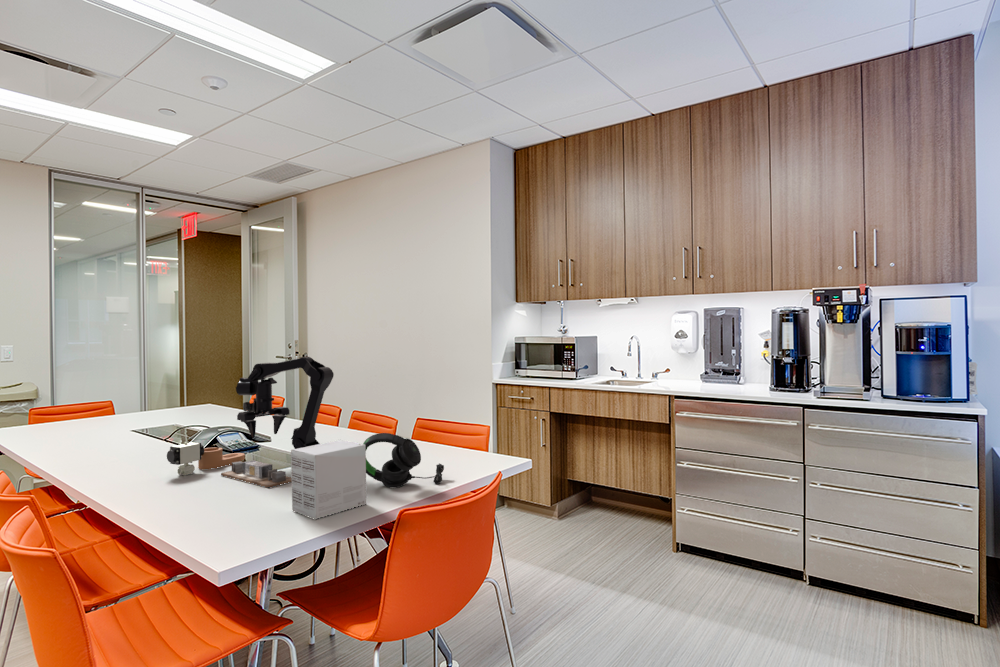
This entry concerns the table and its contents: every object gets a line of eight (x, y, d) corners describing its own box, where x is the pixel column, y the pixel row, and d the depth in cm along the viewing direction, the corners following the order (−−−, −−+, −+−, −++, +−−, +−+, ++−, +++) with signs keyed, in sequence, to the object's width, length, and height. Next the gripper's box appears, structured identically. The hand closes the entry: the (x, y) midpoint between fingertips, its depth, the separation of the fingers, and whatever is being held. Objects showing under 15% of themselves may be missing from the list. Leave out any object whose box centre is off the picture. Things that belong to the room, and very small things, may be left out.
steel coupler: (272, 476, 191) (272, 464, 191) (261, 478, 188) (261, 466, 188) (253, 471, 198) (253, 460, 198) (242, 474, 195) (242, 462, 195)
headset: (426, 510, 182) (347, 474, 178) (433, 482, 195) (359, 448, 190) (450, 474, 175) (367, 435, 171) (456, 448, 187) (379, 411, 183)
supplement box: (341, 496, 170) (340, 439, 170) (367, 504, 162) (367, 444, 162) (290, 511, 157) (289, 448, 157) (315, 520, 148) (314, 454, 148)
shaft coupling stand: (295, 481, 189) (295, 469, 189) (268, 488, 180) (268, 475, 180) (247, 469, 206) (247, 458, 206) (221, 475, 198) (220, 464, 198)
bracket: (207, 471, 206) (206, 452, 206) (193, 468, 210) (193, 450, 210) (249, 460, 222) (248, 443, 222) (236, 458, 226) (235, 442, 225)
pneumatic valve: (205, 471, 205) (204, 439, 205) (175, 479, 194) (174, 445, 194) (195, 469, 207) (194, 438, 207) (165, 477, 196) (164, 444, 196)
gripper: (273, 392, 222) (274, 430, 222) (229, 396, 207) (229, 437, 207) (290, 393, 216) (290, 432, 216) (245, 398, 200) (245, 440, 200)
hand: (264, 435), depth 210 cm, fingers open, 9 cm apart
